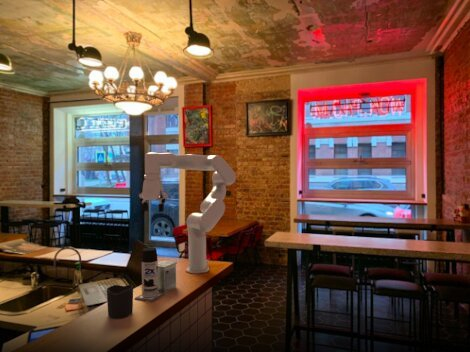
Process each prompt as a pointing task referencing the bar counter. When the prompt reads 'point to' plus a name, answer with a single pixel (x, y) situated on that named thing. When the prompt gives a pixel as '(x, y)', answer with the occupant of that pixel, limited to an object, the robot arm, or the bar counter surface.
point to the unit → (166, 276)
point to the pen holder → (120, 301)
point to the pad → (150, 298)
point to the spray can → (149, 273)
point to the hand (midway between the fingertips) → (153, 211)
